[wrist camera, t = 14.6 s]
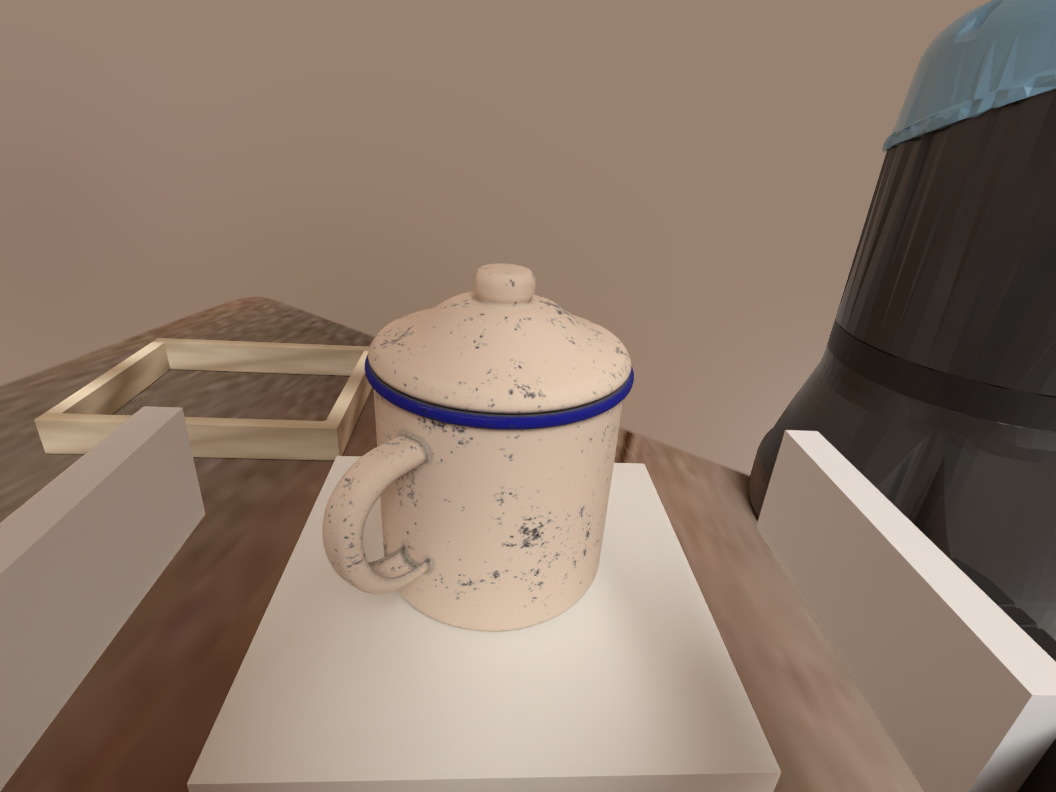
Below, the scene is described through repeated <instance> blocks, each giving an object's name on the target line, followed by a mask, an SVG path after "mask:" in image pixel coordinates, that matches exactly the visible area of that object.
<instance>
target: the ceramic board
mask: <svg viewBox="0 0 1056 792" xmlns="http://www.w3.org/2000/svg"><path fill="white" fill-rule="evenodd" d="M359 458H361V456H337V457H336V459H335V461H334V463H333V465H332V467H331V470H330V472H329V474H328V476H327V478H326V481H325V483H324V485H323V487H322V489H321V492H320V494H319V496H318V498H317V500H316V502H315V505H314V507H313V509H312V511H311V513H310V516H309V518H308V520H307V522H306V524H305V527H304V529H303V531H302V533H301V535H300V537H299V540H298V542H297V544H296V546H295V548H294V551H293V553H292V555H291V557H290V559H289V562H288V564H287V566H286V568H285V570H284V572H283V575H282V577H281V579H280V581H279V583H278V586H277V588H276V590H275V592H274V594H273V597H272V599H271V601H270V603H269V605H268V607H267V610H266V612H265V614H264V616H263V618H262V621H261V623H260V625H259V627H258V629H257V632H256V634H255V636H254V638H253V640H252V642H251V645H250V647H249V649H248V651H247V653H246V656H245V658H244V660H243V662H242V664H241V667H240V669H239V671H238V673H237V675H236V678H235V680H234V682H233V684H232V686H231V688H230V691H229V693H228V695H227V697H226V699H225V702H224V704H223V706H222V708H221V710H220V713H219V715H218V717H217V719H216V721H215V723H214V726H213V728H212V730H211V732H210V734H209V737H208V739H207V741H206V743H205V745H204V748H203V750H202V752H201V754H200V756H199V758H198V761H197V763H196V765H195V767H194V769H193V772H192V774H191V776H190V778H189V780H188V783H187V787H188V790H189V792H773V791H774V789H775V787H776V784H777V782H778V779H779V777H780V775H781V770H780V768H779V766H778V764H777V761H776V759H775V757H774V755H773V752H772V750H771V748H770V746H769V743H768V741H767V739H766V737H765V734H764V732H763V730H762V728H761V725H760V723H759V721H758V719H757V716H756V714H755V712H754V710H753V707H752V705H751V703H750V701H749V698H748V696H747V694H746V692H745V689H744V687H743V685H742V683H741V680H740V678H739V676H738V674H737V671H736V669H735V667H734V665H733V662H732V660H731V658H730V656H729V653H728V651H727V649H726V647H725V644H724V642H723V640H722V638H721V635H720V633H719V631H718V629H717V626H716V624H715V622H714V620H713V617H712V615H711V613H710V611H709V608H708V606H707V604H706V602H705V599H704V597H703V595H702V593H701V590H700V588H699V586H698V584H697V581H696V579H695V577H694V575H693V573H692V570H691V568H690V566H689V564H688V561H687V559H686V557H685V555H684V552H683V550H682V548H681V546H680V543H679V541H678V539H677V537H676V534H675V532H674V530H673V528H672V525H671V523H670V521H669V519H668V516H667V514H666V512H665V510H664V507H663V505H662V503H661V501H660V498H659V496H658V494H657V492H656V489H655V487H654V485H653V483H652V480H651V478H650V476H649V474H648V471H647V469H646V467H645V465H644V464H635V463H614V466H613V472H612V479H611V486H610V493H609V500H608V506H607V513H606V520H605V527H604V533H603V540H602V547H601V554H600V560H599V566H598V570H597V573H596V576H595V578H594V581H593V582H592V584H591V586H590V588H589V589H588V590H587V592H586V593H585V594H584V596H583V597H582V598H581V599H580V600H579V601H578V602H577V603H576V604H574V605H573V606H572V607H571V608H569V609H568V610H566V611H565V612H564V613H562V614H560V615H558V616H556V617H555V618H553V619H550V620H548V621H546V622H543V623H540V624H537V625H534V626H531V627H527V628H522V629H517V630H510V631H476V630H469V629H463V628H459V627H455V626H451V625H448V624H445V623H443V622H440V621H438V620H435V619H433V618H431V617H429V616H427V615H425V614H424V613H422V612H420V611H419V610H417V609H416V608H415V607H413V606H412V605H411V604H409V603H408V602H407V601H406V600H405V599H404V598H403V597H402V596H401V595H400V593H399V592H398V591H397V590H395V591H392V592H389V593H385V594H371V593H366V592H364V591H361V590H359V589H357V588H356V587H354V586H352V585H351V584H349V583H348V582H346V581H345V580H344V579H343V578H341V577H340V576H339V575H338V574H337V573H336V571H335V570H334V569H333V567H332V566H331V564H330V562H329V560H328V558H327V555H326V552H325V548H324V544H323V535H322V527H323V518H324V512H325V509H326V506H327V503H328V500H329V498H330V496H331V494H332V492H333V490H334V489H335V487H336V485H337V484H338V482H339V481H340V479H341V478H342V476H343V475H344V474H345V473H346V471H347V470H348V469H349V468H350V467H351V466H352V465H353V464H354V463H355V462H356V461H357V460H358V459H359ZM363 546H364V552H365V556H366V559H367V561H368V562H373V561H376V560H379V559H381V558H383V557H384V547H383V531H382V515H381V500H380V496H379V498H378V499H377V500H376V502H375V504H374V505H373V507H372V509H371V511H370V512H369V514H368V517H367V519H366V522H365V526H364V532H363Z"/></svg>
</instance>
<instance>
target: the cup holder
mask: <svg viewBox="0 0 1056 792" xmlns="http://www.w3.org/2000/svg"><path fill="white" fill-rule="evenodd" d="M368 350H369V347H363V346H339V345H314V344H290V343H265V342H241V341H217V340H192V339H168V338H158V339H156V340H155V341H153V342H152V343H150V344H149V345H147V346H146V347H144V348H143V349H141V350H140V351H138V352H137V353H135V354H133V355H132V356H130V357H129V358H127V359H126V360H124V361H123V362H121V363H120V364H118V365H117V366H115V367H114V368H112V369H111V370H109V371H108V372H106V373H105V374H103V375H102V376H100V377H99V378H97V379H96V380H94V381H93V382H91V383H90V384H88V385H86V386H85V387H83V388H82V389H80V390H79V391H77V392H76V393H74V394H73V395H71V396H70V397H68V398H67V399H65V400H64V401H62V402H61V403H59V404H58V405H56V406H55V407H53V408H52V409H50V410H49V411H47V412H46V413H44V414H42V415H41V416H39V417H38V418H36V419H35V420H34V421H35V424H36V427H37V430H38V432H39V435H40V438H41V441H42V444H43V447H44V450H45V453H53V454H86V453H87V452H88V451H90V450H91V449H92V448H93V447H95V446H96V445H97V444H98V443H99V442H101V441H102V440H103V439H104V438H106V437H107V436H108V435H109V434H111V433H112V432H113V431H114V430H115V429H117V428H118V427H119V426H120V425H122V424H123V423H124V422H125V421H127V420H128V419H129V418H130V417H131V416H133V415H112V414H113V413H115V412H116V411H117V410H119V409H120V408H121V407H122V406H124V405H125V404H126V403H127V402H129V401H130V400H131V399H133V398H134V397H135V396H136V395H138V394H139V393H140V392H142V391H143V390H144V389H145V388H147V387H148V386H149V385H151V384H152V383H153V382H154V381H156V380H157V379H158V378H160V377H161V376H162V375H163V374H165V373H166V372H167V371H168V370H170V369H182V370H209V371H236V372H263V373H290V374H317V375H345V376H350V378H349V379H348V381H347V383H346V385H345V387H344V389H343V390H342V392H341V394H340V396H339V398H338V399H337V401H336V403H335V405H334V407H333V409H332V410H331V412H330V414H329V416H328V418H327V420H326V421H299V420H266V419H233V418H200V417H184V418H185V423H186V428H187V432H188V437H189V442H190V446H191V451H192V455H193V457H213V458H253V459H293V460H333V461H335V459H336V457H337V456H342V455H343V452H344V450H345V448H346V446H347V443H348V441H349V439H350V437H351V434H352V432H353V430H354V427H355V425H356V423H357V421H358V418H359V416H360V414H361V412H362V409H363V407H364V405H365V403H366V400H367V398H368V396H369V393H370V391H371V389H372V386H371V385H370V384H369V382H368V380H367V378H366V374H365V360H366V357H367V355H368Z"/></svg>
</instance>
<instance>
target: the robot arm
mask: <svg viewBox="0 0 1056 792" xmlns="http://www.w3.org/2000/svg"><path fill="white" fill-rule="evenodd" d="M883 152H884V153H886V156H885V159H884V163H883V166H882V169H881V172H880V176H879V179H878V182H877V185H876V189H875V192H874V195H873V198H872V202H871V205H870V208H869V211H868V215H867V218H866V221H865V224H864V228H863V231H862V234H861V238H860V241H859V244H858V247H857V250H856V254H855V257H854V260H853V264H852V267H851V270H850V273H849V276H848V280H847V283H846V286H845V289H844V293H843V296H842V299H841V302H840V305H839V309H838V312H837V315H836V319H835V322H834V325H833V328H832V331H831V334H830V338H829V341H828V344H827V347H826V350H825V352H824V355H823V357H822V359H821V362H820V363H819V364H818V366H817V367H816V368H815V370H814V371H813V372H812V374H811V375H810V377H809V378H808V379H807V381H806V382H805V383H804V385H803V386H802V387H801V389H800V390H799V391H798V393H797V394H796V395H795V397H794V398H793V400H792V401H791V402H790V404H789V405H788V407H787V408H786V410H785V411H784V413H783V414H782V416H781V417H780V418H779V420H778V421H777V423H776V425H775V426H774V428H772V429H771V430H770V431H769V432H768V433H767V434H766V435H765V437H764V438H763V440H762V442H761V444H760V446H759V448H758V451H757V454H756V458H755V461H754V464H753V468H752V471H751V475H750V478H749V484H748V490H749V497H750V500H751V503H752V506H753V508H754V510H755V512H756V514H757V516H758V517H759V519H758V522H757V526H756V528H757V530H758V531H759V533H760V534H761V536H762V538H763V539H764V541H765V542H766V544H767V545H768V547H769V549H770V550H771V552H772V553H773V555H774V556H775V558H776V560H777V561H778V563H779V564H780V566H781V567H782V569H783V571H784V572H785V574H786V575H787V577H788V578H789V580H790V582H791V583H792V585H793V586H794V588H795V589H796V591H797V592H798V594H799V596H800V597H801V599H802V600H803V602H804V603H805V605H806V607H807V608H808V610H809V611H810V613H811V614H812V616H813V618H814V619H815V621H816V622H817V624H818V625H819V627H820V629H821V630H822V632H823V633H824V635H825V636H826V638H827V640H828V641H829V643H830V644H831V646H832V647H833V649H834V651H835V652H836V654H837V655H838V657H839V658H840V660H841V662H842V663H843V665H844V666H845V668H846V669H847V671H848V673H849V674H850V676H851V677H852V679H853V680H854V682H855V684H856V685H857V687H858V688H859V690H860V691H861V693H862V695H863V696H864V698H865V699H866V701H867V702H868V704H869V705H870V707H871V709H872V710H873V712H874V713H875V715H876V716H877V718H878V720H879V721H880V723H881V724H882V726H883V727H884V729H885V731H886V732H887V734H888V735H889V737H890V738H891V740H892V742H893V743H894V745H895V746H896V748H897V749H898V751H899V753H900V754H901V756H902V757H903V759H904V760H905V762H906V764H907V765H908V767H909V768H910V770H911V771H912V773H913V775H914V776H915V778H916V779H917V781H918V782H919V784H920V786H921V787H922V789H923V790H924V792H1056V0H992V1H990V2H988V3H986V4H983V5H981V6H979V7H977V8H975V9H973V10H971V11H969V12H967V13H966V14H964V15H963V16H961V17H960V18H958V19H956V20H955V21H954V22H952V23H951V24H950V25H949V26H947V27H946V28H945V29H944V30H943V31H942V32H941V33H940V34H939V35H938V36H937V37H936V38H935V39H934V40H933V41H932V42H931V43H930V45H929V46H928V48H927V49H926V51H925V52H924V54H923V56H922V57H921V60H920V62H919V65H918V67H917V69H916V72H915V75H914V78H913V80H912V82H911V85H910V88H909V90H908V93H907V96H906V99H905V101H904V104H903V106H902V109H901V112H900V114H899V117H898V120H897V122H896V125H895V128H894V130H893V133H892V135H890V136H889V137H888V138H887V139H886V141H885V143H884V146H883ZM204 515H205V511H204V506H203V502H202V497H201V492H200V488H199V483H198V478H197V474H196V469H195V465H194V460H193V455H192V451H191V446H190V442H189V437H188V432H187V428H186V423H185V418H184V414H183V409H182V408H174V407H147V406H144V407H143V408H141V409H140V410H139V411H138V412H136V413H135V414H134V415H133V416H131V417H130V418H129V419H128V420H127V421H125V422H124V423H123V424H122V425H120V426H119V427H118V428H117V429H115V430H114V431H113V432H112V433H111V434H109V435H108V436H107V437H106V438H104V439H103V440H102V441H101V442H99V443H98V444H97V445H96V446H95V447H93V448H92V449H91V450H90V451H88V452H87V453H86V454H85V455H83V456H82V457H81V458H80V459H78V460H77V461H76V462H75V463H74V464H72V465H71V466H70V467H69V468H67V469H66V470H65V471H64V472H62V473H61V474H60V475H59V476H58V477H56V478H55V479H54V480H53V481H51V482H50V483H49V484H48V485H46V486H45V487H44V488H43V489H42V490H40V491H39V492H38V493H37V494H35V495H34V496H33V497H32V498H30V499H29V500H28V501H27V502H25V503H24V504H23V505H22V506H21V507H19V508H18V509H17V510H16V511H14V512H13V513H12V514H11V515H9V516H8V517H7V518H6V519H5V520H3V521H2V522H1V523H0V791H1V790H2V789H3V787H4V786H5V785H6V783H7V782H8V781H9V779H10V778H11V777H12V775H13V774H14V772H15V771H16V770H17V768H18V767H19V766H20V764H21V763H22V762H23V760H24V759H25V758H26V756H27V755H28V754H29V752H30V751H31V749H32V748H33V747H34V745H35V744H36V743H37V741H38V740H39V739H40V737H41V736H42V735H43V733H44V732H45V731H46V729H47V728H48V726H49V725H50V724H51V722H52V721H53V720H54V718H55V717H56V716H57V714H58V713H59V712H60V710H61V709H62V708H63V706H64V705H65V703H66V702H67V701H68V699H69V698H70V697H71V695H72V694H73V693H74V691H75V690H76V689H77V687H78V686H79V685H80V683H81V682H82V680H83V679H84V678H85V676H86V675H87V674H88V672H89V671H90V670H91V668H92V667H93V666H94V664H95V663H96V662H97V660H98V659H99V657H100V656H101V655H102V653H103V652H104V651H105V649H106V648H107V647H108V645H109V644H110V643H111V641H112V640H113V639H114V637H115V636H116V634H117V633H118V632H119V630H120V629H121V628H122V626H123V625H124V624H125V622H126V621H127V620H128V618H129V617H130V616H131V614H132V613H133V611H134V610H135V609H136V607H137V606H138V605H139V603H140V602H141V601H142V599H143V598H144V597H145V595H146V594H147V593H148V591H149V590H150V588H151V587H152V586H153V584H154V583H155V582H156V580H157V579H158V578H159V576H160V575H161V574H162V572H163V571H164V570H165V568H166V567H167V565H168V564H169V563H170V561H171V560H172V559H173V557H174V556H175V555H176V553H177V552H178V551H179V549H180V548H181V547H182V545H183V544H184V542H185V541H186V540H187V538H188V537H189V536H190V534H191V533H192V532H193V530H194V529H195V528H196V526H197V525H198V524H199V522H200V521H201V519H202V518H203V517H204Z"/></svg>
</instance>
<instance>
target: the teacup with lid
mask: <svg viewBox="0 0 1056 792" xmlns="http://www.w3.org/2000/svg"><path fill="white" fill-rule="evenodd" d="M534 292H535V277H534V275H533V273H532V272H531V271H530V270H529V269H528V268H526V267H523V266H519V265H513V264H488V265H484V266H482V267H480V268H479V269H478V270H477V271H476V273H475V275H474V291H473V292H468V293H463V294H460V295H457V296H454V297H452V298H450V299H448V300H446V301H444V302H443V303H441V304H440V305H438V306H436V307H435V308H431V309H426V310H422V311H419V312H415V313H411V314H409V315H406V316H404V317H401V318H399V319H397V320H395V321H393V322H391V323H390V324H388V325H386V326H385V327H384V328H383V329H382V330H381V331H380V332H379V333H378V334H377V335H376V336H375V338H374V340H373V341H372V343H371V345H370V347H369V350H368V355H367V357H366V360H365V374H366V378H367V380H368V382H369V384H370V385H371V386H372V388H373V389H374V404H375V420H376V436H377V447H376V448H374V449H372V450H371V451H369V452H368V453H366V454H365V455H363V456H362V457H361V458H359V459H358V460H357V461H356V462H355V463H354V464H353V465H352V466H351V467H350V468H349V469H348V470H347V471H346V473H345V474H344V475H343V476H342V478H341V479H340V481H339V482H338V484H337V485H336V487H335V489H334V490H333V492H332V494H331V496H330V498H329V500H328V503H327V506H326V509H325V512H324V518H323V527H322V535H323V544H324V548H325V552H326V555H327V558H328V560H329V562H330V564H331V566H332V567H333V569H334V570H335V571H336V573H337V574H338V575H339V576H340V577H341V578H343V579H344V580H345V581H346V582H348V583H349V584H351V585H352V586H354V587H356V588H357V589H359V590H361V591H364V592H366V593H371V594H385V593H389V592H392V591H395V590H397V591H398V592H399V593H400V595H401V596H402V597H403V598H404V599H405V600H406V601H407V602H408V603H409V604H411V605H412V606H413V607H415V608H416V609H417V610H419V611H420V612H422V613H424V614H425V615H427V616H429V617H431V618H433V619H435V620H438V621H440V622H443V623H445V624H448V625H451V626H455V627H459V628H463V629H469V630H476V631H510V630H517V629H522V628H527V627H531V626H534V625H537V624H540V623H543V622H546V621H548V620H550V619H553V618H555V617H556V616H558V615H560V614H562V613H564V612H565V611H566V610H568V609H569V608H571V607H572V606H573V605H574V604H576V603H577V602H578V601H579V600H580V599H581V598H582V597H583V596H584V594H585V593H586V592H587V590H588V589H589V588H590V586H591V584H592V582H593V581H594V578H595V576H596V573H597V570H598V566H599V560H600V554H601V547H602V540H603V533H604V527H605V520H606V513H607V506H608V500H609V493H610V486H611V479H612V472H613V466H614V459H615V452H616V445H617V439H618V432H619V425H620V418H621V411H622V404H623V399H624V398H625V397H626V396H627V395H628V393H629V392H630V390H631V388H632V384H633V380H634V373H633V369H632V366H631V359H630V357H629V354H628V352H627V350H626V348H625V346H624V345H623V344H622V342H621V341H620V340H619V339H618V338H617V337H616V336H615V335H613V334H612V333H611V332H609V331H608V330H606V329H605V328H603V327H601V326H599V325H597V324H595V323H593V322H591V321H588V320H586V319H583V318H580V317H577V316H574V315H571V314H570V313H569V312H567V311H566V310H565V309H564V308H562V307H561V306H560V305H558V304H556V303H555V302H553V301H551V300H549V299H546V298H544V297H541V296H538V295H534ZM379 496H380V500H381V515H382V531H383V547H384V557H383V558H381V559H379V560H376V561H373V562H368V561H367V559H366V556H365V552H364V546H363V532H364V526H365V522H366V519H367V517H368V514H369V512H370V511H371V509H372V507H373V505H374V504H375V502H376V500H377V499H378V498H379Z"/></svg>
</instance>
